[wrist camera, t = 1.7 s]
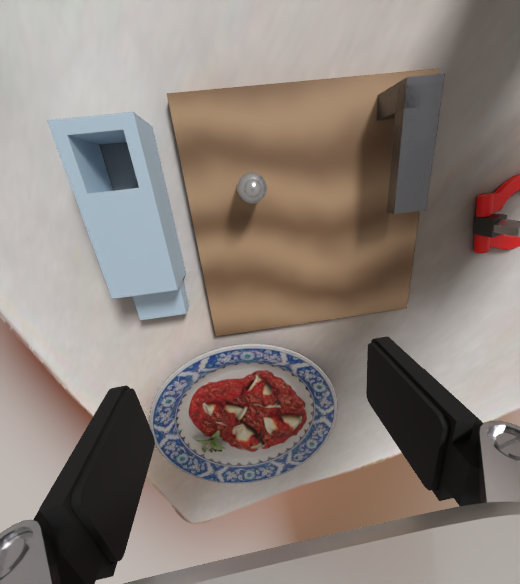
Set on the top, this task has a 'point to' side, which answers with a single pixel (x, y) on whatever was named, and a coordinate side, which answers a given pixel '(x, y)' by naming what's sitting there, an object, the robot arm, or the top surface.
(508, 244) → the tow hook
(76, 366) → the top surface
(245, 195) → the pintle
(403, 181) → the bracket
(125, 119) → the link
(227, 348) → the ceramic plate
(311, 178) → the board
